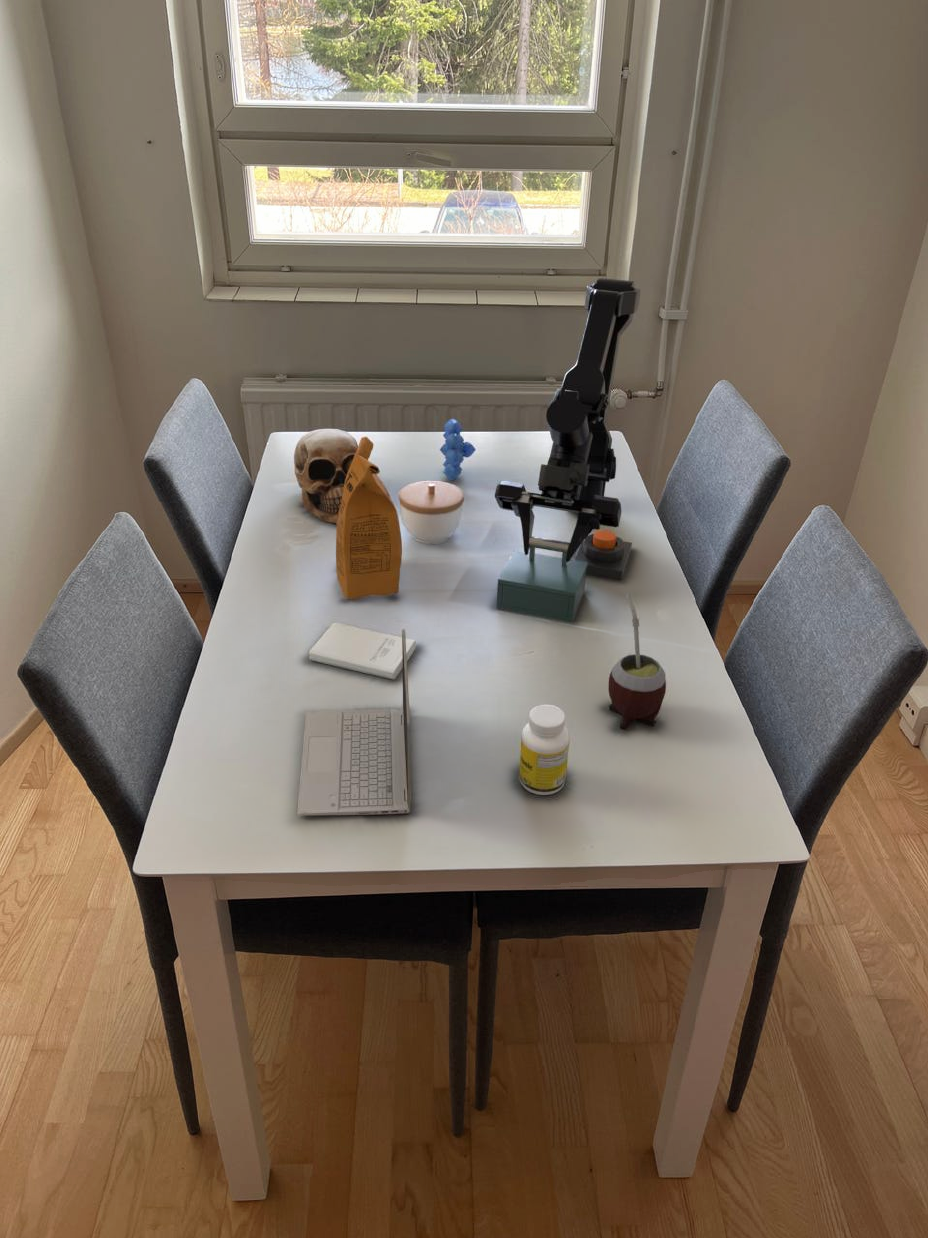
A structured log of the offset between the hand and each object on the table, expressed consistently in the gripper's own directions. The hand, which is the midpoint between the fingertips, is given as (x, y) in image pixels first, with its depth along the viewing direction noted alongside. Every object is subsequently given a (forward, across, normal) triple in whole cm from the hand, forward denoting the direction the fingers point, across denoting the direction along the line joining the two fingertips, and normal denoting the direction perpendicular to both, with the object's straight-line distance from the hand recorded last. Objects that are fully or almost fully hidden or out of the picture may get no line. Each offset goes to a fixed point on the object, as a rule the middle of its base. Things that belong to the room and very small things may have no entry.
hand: (546, 557), depth 141 cm
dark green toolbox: (+6, 0, +4) cm, 7 cm away
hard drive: (+22, -20, -12) cm, 32 cm away
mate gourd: (+22, +17, -13) cm, 31 cm away
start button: (-7, +7, +12) cm, 15 cm away
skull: (-8, -43, +18) cm, 47 cm away
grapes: (-20, -25, +30) cm, 44 cm away
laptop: (+36, -12, -27) cm, 46 cm away
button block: (-5, +7, +14) cm, 16 cm away
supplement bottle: (+33, +9, -24) cm, 42 cm away
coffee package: (+8, -26, +1) cm, 28 cm away
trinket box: (-4, -22, +14) cm, 26 cm away
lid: (+3, 0, +1) cm, 3 cm away
